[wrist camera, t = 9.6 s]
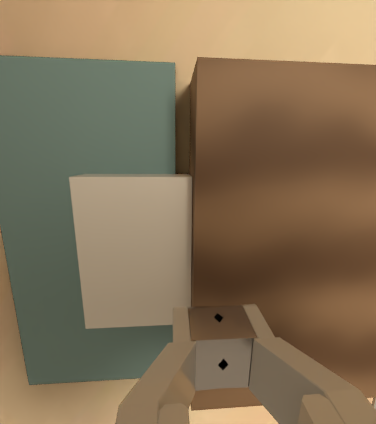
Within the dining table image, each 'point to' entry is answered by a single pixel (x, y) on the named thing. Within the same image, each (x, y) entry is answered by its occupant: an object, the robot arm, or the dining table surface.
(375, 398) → the handheld gaming device
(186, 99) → the dining table surface
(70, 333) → the mat
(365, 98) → the board
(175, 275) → the white rectangular block
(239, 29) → the dining table surface
